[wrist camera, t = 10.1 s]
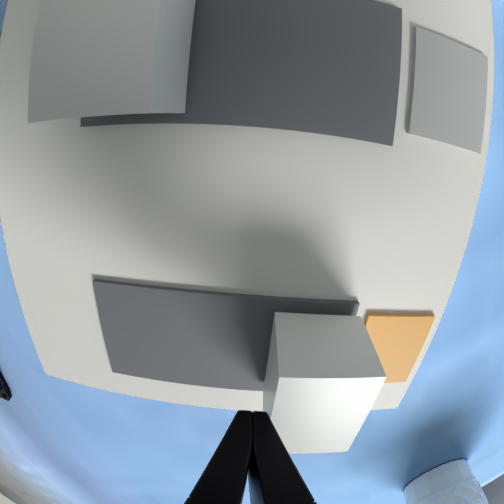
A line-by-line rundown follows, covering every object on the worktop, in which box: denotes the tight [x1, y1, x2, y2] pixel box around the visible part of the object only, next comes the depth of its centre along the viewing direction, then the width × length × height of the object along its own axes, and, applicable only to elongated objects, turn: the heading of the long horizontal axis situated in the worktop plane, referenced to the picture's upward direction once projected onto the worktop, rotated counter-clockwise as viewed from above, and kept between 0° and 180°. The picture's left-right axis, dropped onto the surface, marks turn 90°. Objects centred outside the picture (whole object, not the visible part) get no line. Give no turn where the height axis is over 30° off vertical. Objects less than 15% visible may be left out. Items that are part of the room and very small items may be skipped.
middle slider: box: [28, 0, 196, 123], centre depth 6 cm, size 3×4×3 cm
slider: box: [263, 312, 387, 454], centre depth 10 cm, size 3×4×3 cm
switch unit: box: [0, 0, 494, 411], centre depth 8 cm, size 18×28×1 cm, turn 176°
